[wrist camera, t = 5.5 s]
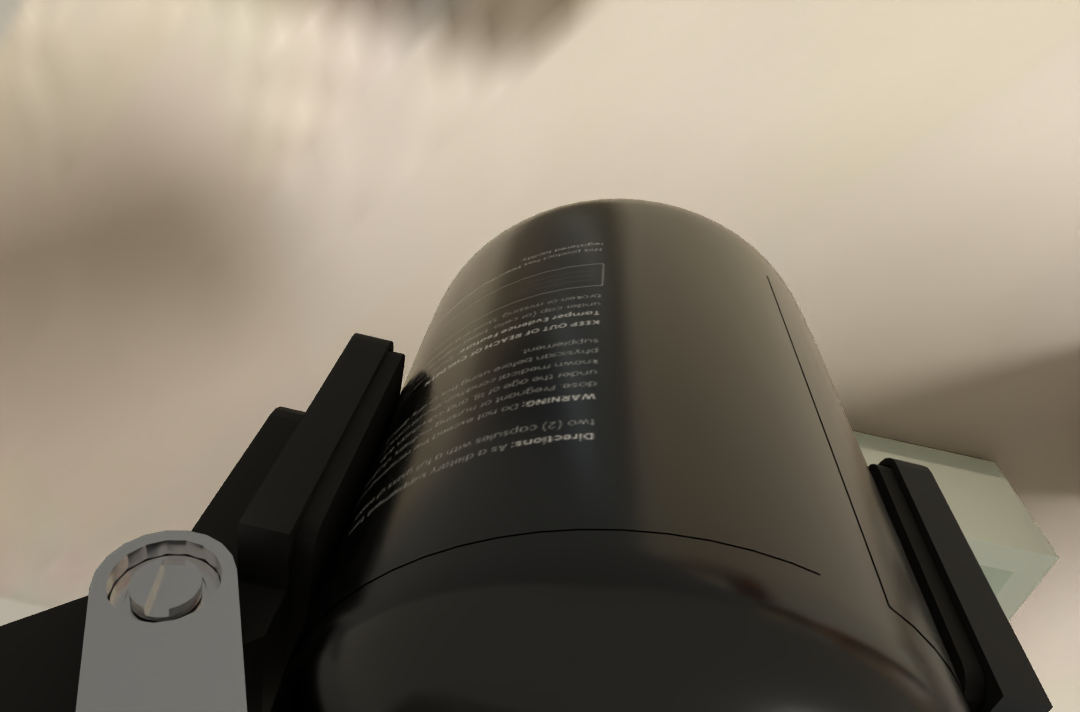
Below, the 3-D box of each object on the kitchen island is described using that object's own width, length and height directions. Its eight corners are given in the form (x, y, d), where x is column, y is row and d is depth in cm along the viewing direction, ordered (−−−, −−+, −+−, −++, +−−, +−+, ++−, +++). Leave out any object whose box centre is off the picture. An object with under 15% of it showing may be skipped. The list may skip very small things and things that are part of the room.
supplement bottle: (441, 489, 17) (131, 1473, 6) (427, 174, 13) (-335, 1244, 3) (771, 519, 16) (1021, 1638, 6) (850, 200, 13) (1843, 1610, 2)
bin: (994, 462, 30) (1058, 557, 26) (828, 709, 38) (856, 812, 34) (591, 373, 29) (588, 456, 25) (510, 644, 38) (498, 742, 33)
